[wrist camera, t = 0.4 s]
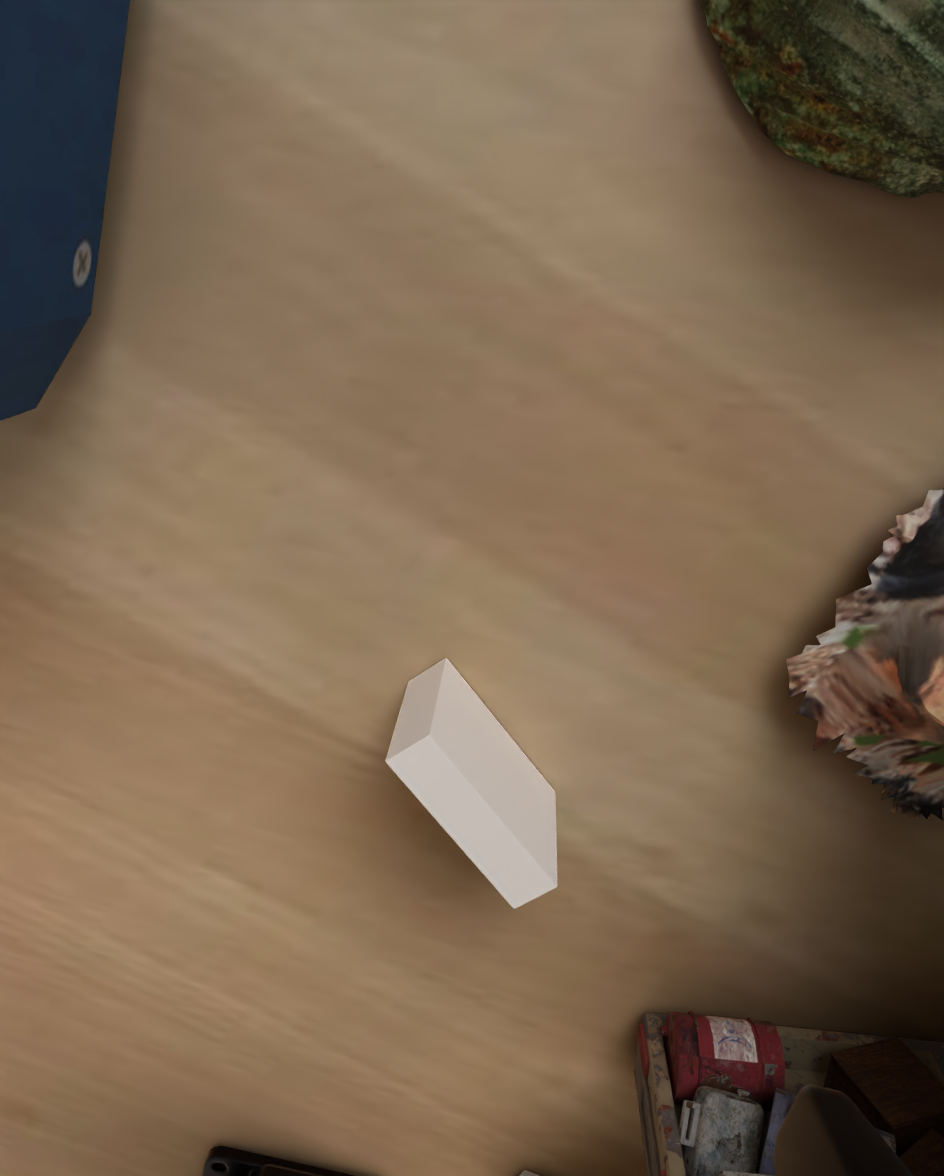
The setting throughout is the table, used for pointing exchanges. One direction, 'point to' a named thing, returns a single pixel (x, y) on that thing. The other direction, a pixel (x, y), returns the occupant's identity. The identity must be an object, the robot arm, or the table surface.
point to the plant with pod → (887, 667)
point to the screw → (528, 1173)
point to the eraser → (476, 783)
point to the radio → (52, 179)
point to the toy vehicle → (775, 1091)
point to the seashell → (843, 83)
